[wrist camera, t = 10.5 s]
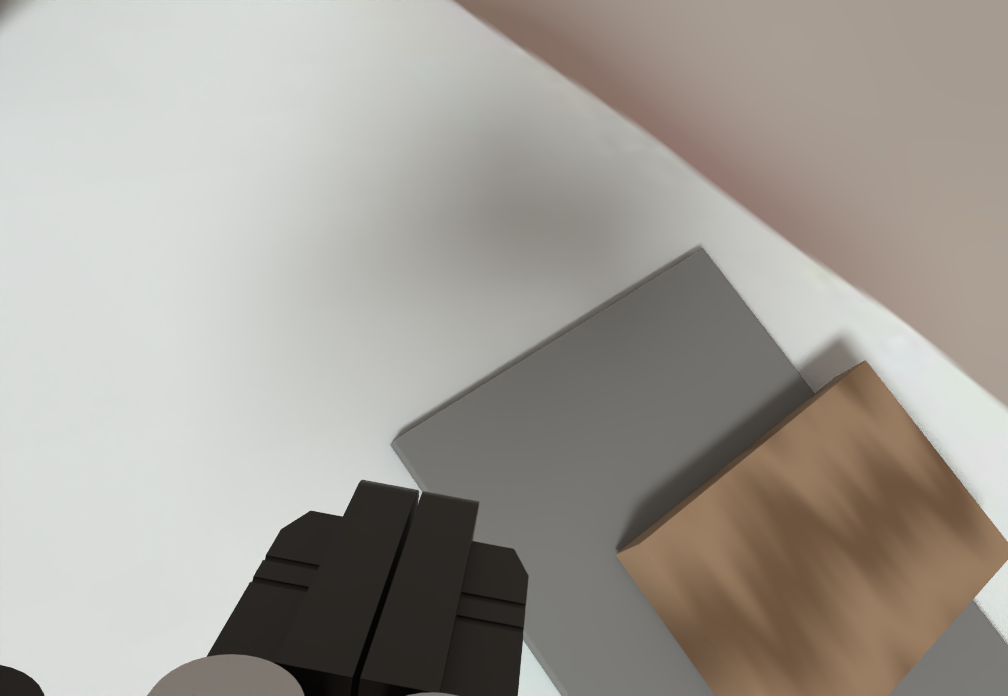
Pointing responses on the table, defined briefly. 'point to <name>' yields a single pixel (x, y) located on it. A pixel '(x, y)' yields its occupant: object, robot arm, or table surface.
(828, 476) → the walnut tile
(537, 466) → the charcoal mat
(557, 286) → the table surface
